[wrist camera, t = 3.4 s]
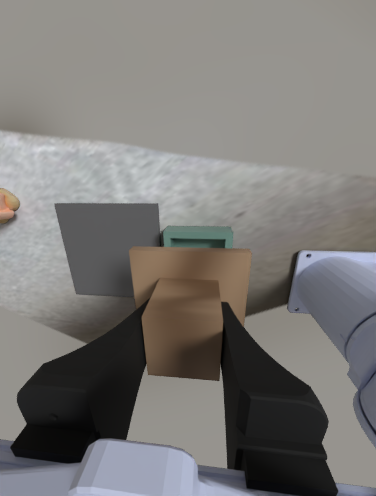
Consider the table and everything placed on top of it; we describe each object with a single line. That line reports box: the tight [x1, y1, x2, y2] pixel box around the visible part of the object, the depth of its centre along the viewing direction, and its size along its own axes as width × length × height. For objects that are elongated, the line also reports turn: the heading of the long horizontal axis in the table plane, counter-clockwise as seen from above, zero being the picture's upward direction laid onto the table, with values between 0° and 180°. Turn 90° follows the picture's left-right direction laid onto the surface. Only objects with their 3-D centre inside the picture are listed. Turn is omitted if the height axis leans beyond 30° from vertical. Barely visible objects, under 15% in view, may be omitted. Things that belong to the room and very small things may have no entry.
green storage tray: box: [163, 226, 233, 248], centre depth 21 cm, size 7×7×2 cm
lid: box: [129, 246, 252, 381], centre depth 12 cm, size 8×8×5 cm
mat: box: [55, 203, 161, 297], centre depth 23 cm, size 12×12×1 cm
